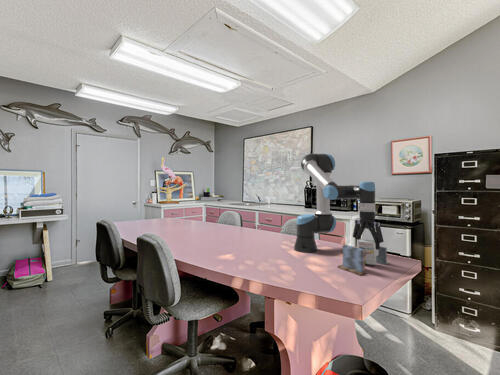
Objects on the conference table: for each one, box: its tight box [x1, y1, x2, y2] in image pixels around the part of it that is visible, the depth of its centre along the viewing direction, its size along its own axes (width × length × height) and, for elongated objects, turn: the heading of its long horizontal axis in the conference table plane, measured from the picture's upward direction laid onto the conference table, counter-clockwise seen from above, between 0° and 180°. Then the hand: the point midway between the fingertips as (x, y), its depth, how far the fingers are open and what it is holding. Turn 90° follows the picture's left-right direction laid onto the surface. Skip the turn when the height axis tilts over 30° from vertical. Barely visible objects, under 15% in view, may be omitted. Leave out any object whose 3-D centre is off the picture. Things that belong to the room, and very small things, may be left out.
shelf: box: [337, 244, 368, 277], centre depth 138 cm, size 14×27×12 cm, turn 119°
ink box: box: [358, 238, 377, 266], centre depth 138 cm, size 9×5×12 cm, turn 62°
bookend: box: [376, 245, 391, 266], centre depth 143 cm, size 10×4×9 cm, turn 29°
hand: (367, 253), depth 138 cm, fingers closed on ink box, 9 cm apart
